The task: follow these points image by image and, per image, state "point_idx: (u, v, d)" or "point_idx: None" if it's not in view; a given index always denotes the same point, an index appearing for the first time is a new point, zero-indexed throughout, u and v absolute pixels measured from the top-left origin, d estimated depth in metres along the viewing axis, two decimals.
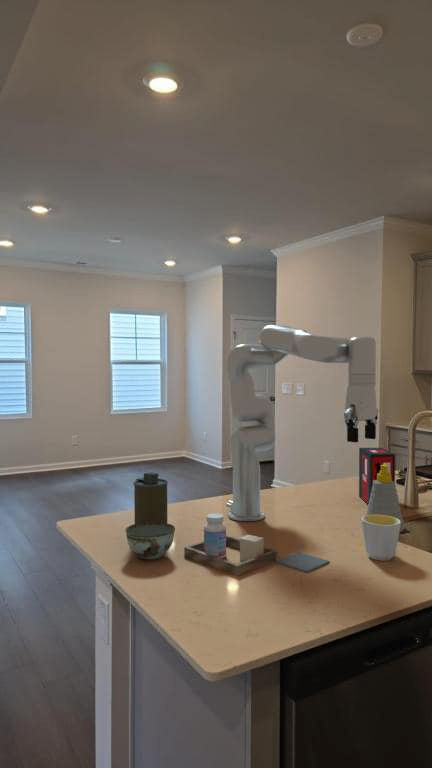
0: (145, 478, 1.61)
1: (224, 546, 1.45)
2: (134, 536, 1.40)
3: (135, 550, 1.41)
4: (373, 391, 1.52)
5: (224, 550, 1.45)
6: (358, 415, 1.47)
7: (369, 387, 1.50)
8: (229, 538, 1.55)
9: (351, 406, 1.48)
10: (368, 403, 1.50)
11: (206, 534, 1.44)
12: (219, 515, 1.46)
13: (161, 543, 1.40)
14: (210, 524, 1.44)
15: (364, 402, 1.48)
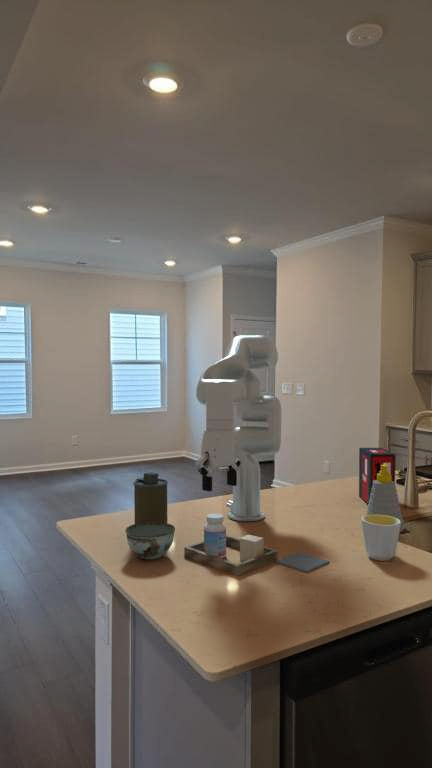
0: (145, 478, 1.61)
1: (224, 546, 1.45)
2: (134, 536, 1.40)
3: (135, 550, 1.41)
4: (231, 437, 1.46)
5: (224, 550, 1.45)
6: (211, 463, 1.41)
7: (225, 433, 1.44)
8: (229, 538, 1.55)
9: (205, 453, 1.42)
10: (224, 450, 1.43)
11: (206, 534, 1.44)
12: (219, 515, 1.46)
13: (161, 543, 1.40)
14: (210, 524, 1.44)
15: (219, 449, 1.42)
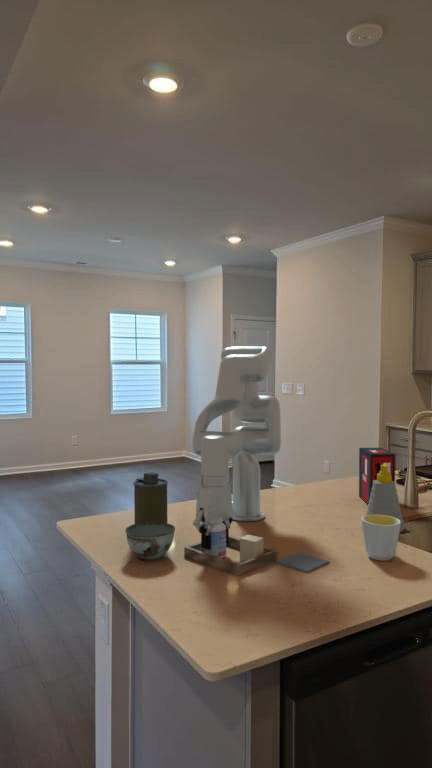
0: (145, 478, 1.61)
1: (224, 546, 1.45)
2: (134, 536, 1.40)
3: (135, 550, 1.41)
4: (227, 491, 1.46)
5: (224, 550, 1.45)
6: (206, 520, 1.41)
7: (220, 489, 1.44)
8: (229, 538, 1.55)
9: (200, 512, 1.42)
10: (219, 505, 1.44)
11: None
12: None
13: (161, 543, 1.40)
14: None
15: (214, 505, 1.42)
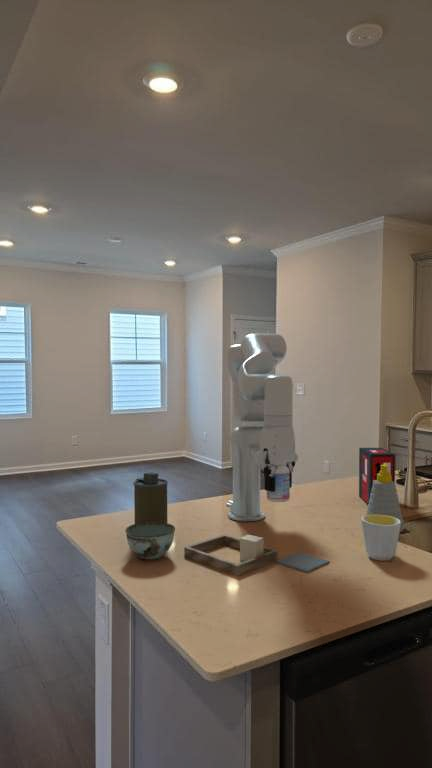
0: (145, 478, 1.61)
1: (288, 489, 1.40)
2: (134, 536, 1.40)
3: (135, 550, 1.41)
4: (290, 433, 1.41)
5: (288, 493, 1.40)
6: (271, 460, 1.37)
7: (285, 429, 1.40)
8: (229, 538, 1.55)
9: (264, 452, 1.38)
10: (283, 447, 1.40)
11: None
12: None
13: (161, 543, 1.40)
14: None
15: (278, 446, 1.38)
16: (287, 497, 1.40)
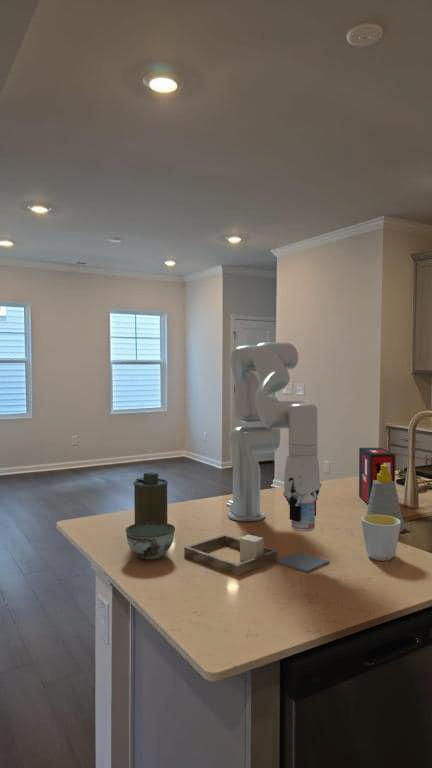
0: (145, 478, 1.61)
1: (313, 518, 1.39)
2: (134, 536, 1.40)
3: (135, 550, 1.41)
4: (315, 462, 1.40)
5: (313, 522, 1.39)
6: (297, 490, 1.36)
7: (310, 458, 1.38)
8: (229, 538, 1.55)
9: (290, 482, 1.37)
10: (309, 476, 1.38)
11: None
12: None
13: (161, 543, 1.40)
14: None
15: (304, 475, 1.37)
16: (313, 526, 1.39)
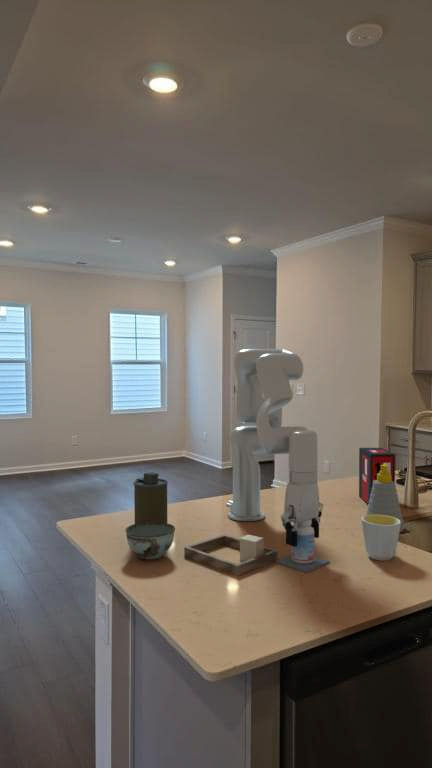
0: (145, 478, 1.61)
1: (313, 550, 1.40)
2: (134, 536, 1.40)
3: (135, 550, 1.41)
4: (315, 488, 1.41)
5: (313, 554, 1.40)
6: (297, 517, 1.36)
7: (310, 485, 1.39)
8: (229, 538, 1.55)
9: (290, 507, 1.37)
10: (309, 503, 1.39)
11: None
12: None
13: (161, 543, 1.40)
14: (299, 527, 1.40)
15: (304, 503, 1.37)
16: (312, 558, 1.39)
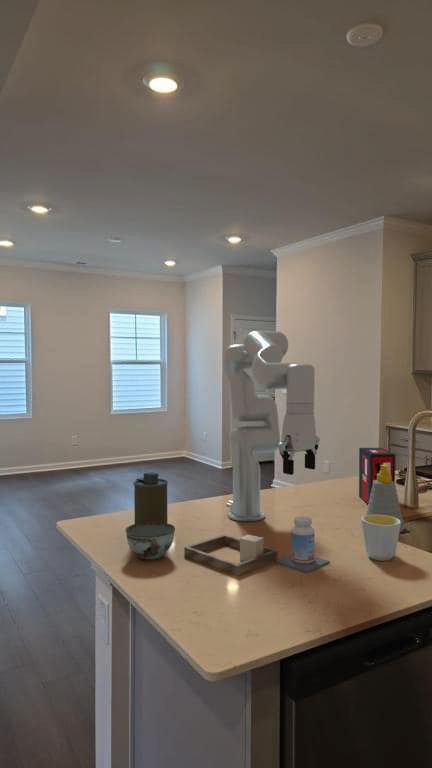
0: (145, 478, 1.61)
1: (313, 550, 1.40)
2: (134, 536, 1.40)
3: (135, 550, 1.41)
4: (312, 420, 1.45)
5: (313, 554, 1.40)
6: (293, 446, 1.41)
7: (307, 417, 1.43)
8: (229, 538, 1.55)
9: (287, 437, 1.42)
10: (305, 433, 1.43)
11: (295, 537, 1.39)
12: (307, 518, 1.42)
13: (161, 543, 1.40)
14: (299, 527, 1.40)
15: (300, 433, 1.42)
16: (312, 558, 1.39)
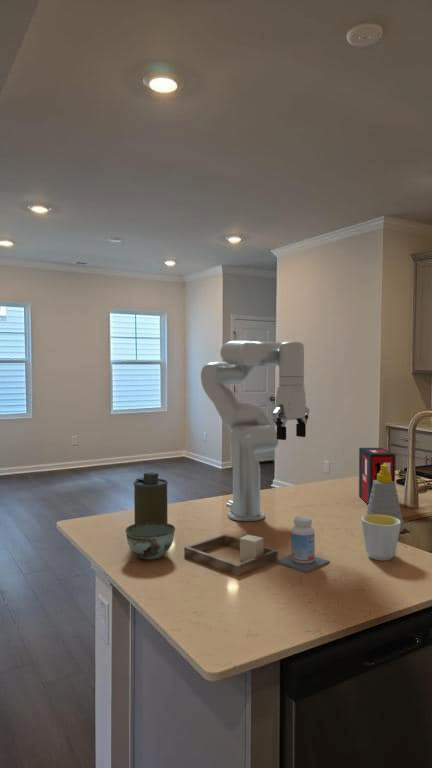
0: (145, 478, 1.61)
1: (313, 550, 1.40)
2: (134, 536, 1.40)
3: (135, 550, 1.41)
4: (302, 392, 1.63)
5: (313, 554, 1.40)
6: (286, 414, 1.58)
7: (297, 388, 1.61)
8: (229, 538, 1.55)
9: (280, 406, 1.59)
10: (296, 403, 1.60)
11: (295, 537, 1.39)
12: (307, 518, 1.42)
13: (161, 543, 1.40)
14: (299, 527, 1.40)
15: (292, 402, 1.59)
16: (312, 558, 1.39)
